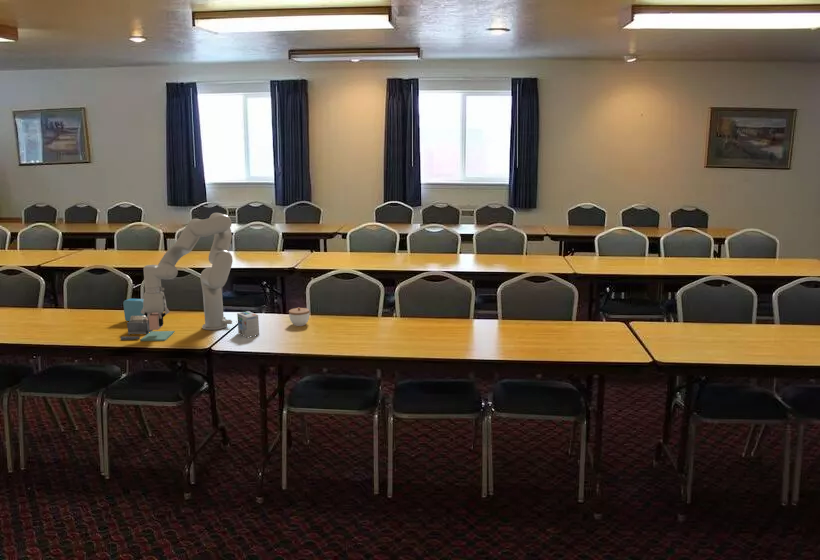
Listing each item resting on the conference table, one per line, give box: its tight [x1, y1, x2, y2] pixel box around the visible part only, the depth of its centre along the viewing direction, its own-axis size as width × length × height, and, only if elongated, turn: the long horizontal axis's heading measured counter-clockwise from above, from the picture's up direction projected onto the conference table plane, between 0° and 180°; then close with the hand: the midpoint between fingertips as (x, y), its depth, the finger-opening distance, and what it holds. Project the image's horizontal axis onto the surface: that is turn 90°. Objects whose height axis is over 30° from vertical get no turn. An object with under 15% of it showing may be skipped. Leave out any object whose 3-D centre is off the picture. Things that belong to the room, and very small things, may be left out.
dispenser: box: [120, 316, 153, 341], centre depth 334 cm, size 10×20×8 cm, turn 1°
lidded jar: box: [288, 306, 310, 327], centre depth 348 cm, size 11×11×9 cm
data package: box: [122, 298, 145, 322], centre depth 357 cm, size 12×4×12 cm, turn 79°
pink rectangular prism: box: [149, 313, 164, 331], centre depth 327 cm, size 4×7×7 cm, turn 1°
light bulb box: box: [236, 310, 260, 338], centre depth 331 cm, size 11×7×11 cm, turn 40°
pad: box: [139, 330, 175, 342], centre depth 329 cm, size 12×14×1 cm
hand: (156, 325), depth 328 cm, fingers closed on pink rectangular prism, 4 cm apart
